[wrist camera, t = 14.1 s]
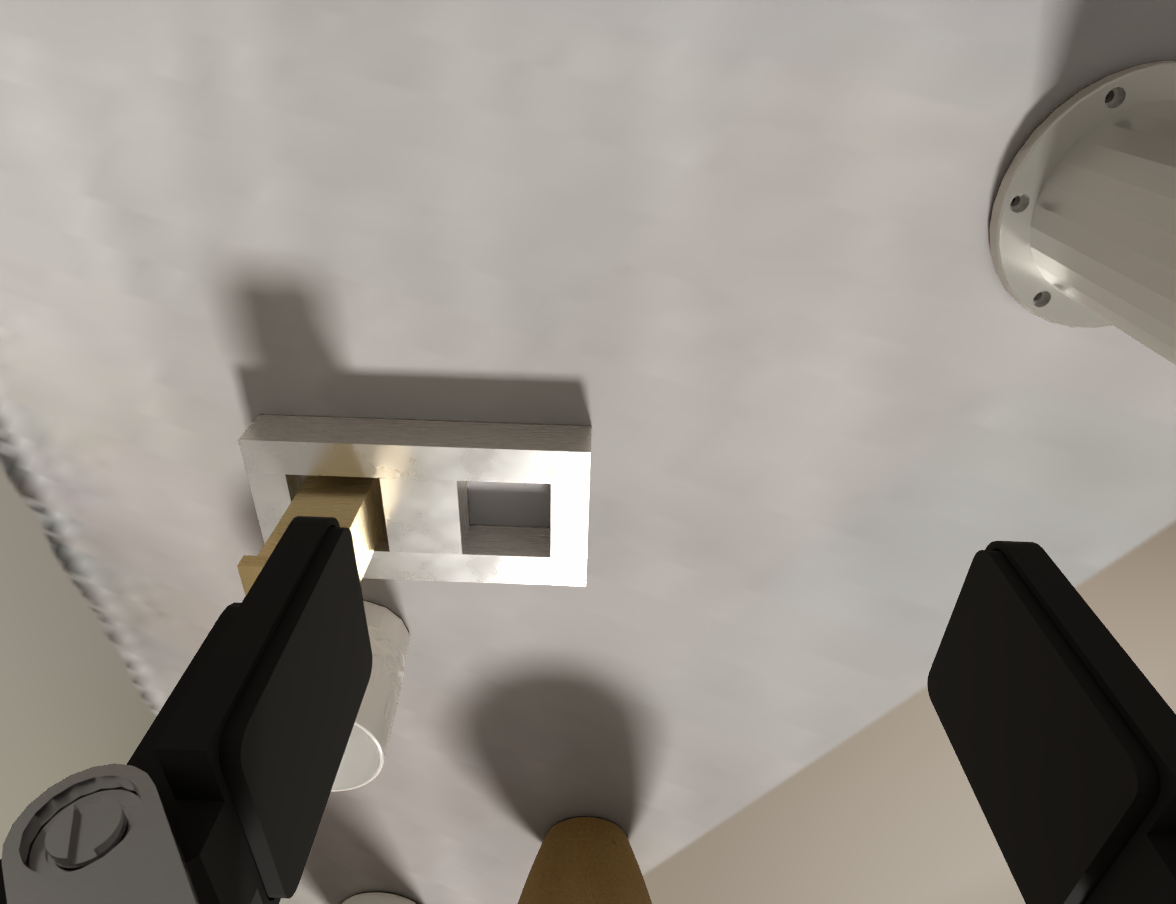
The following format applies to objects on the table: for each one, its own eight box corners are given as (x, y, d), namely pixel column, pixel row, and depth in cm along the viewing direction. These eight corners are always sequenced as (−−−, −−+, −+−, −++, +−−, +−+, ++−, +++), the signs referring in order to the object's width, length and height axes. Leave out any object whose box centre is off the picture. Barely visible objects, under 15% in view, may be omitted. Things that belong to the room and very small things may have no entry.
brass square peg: (388, 455, 46) (334, 568, 37) (397, 517, 48) (347, 639, 39) (311, 452, 46) (237, 565, 37) (323, 515, 48) (257, 636, 39)
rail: (591, 426, 44) (590, 452, 42) (586, 556, 50) (585, 586, 47) (259, 414, 44) (238, 439, 42) (289, 545, 50) (272, 575, 47)
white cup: (309, 584, 51) (251, 700, 43) (422, 602, 52) (387, 720, 44) (309, 662, 56) (255, 782, 47) (413, 678, 56) (379, 799, 48)
